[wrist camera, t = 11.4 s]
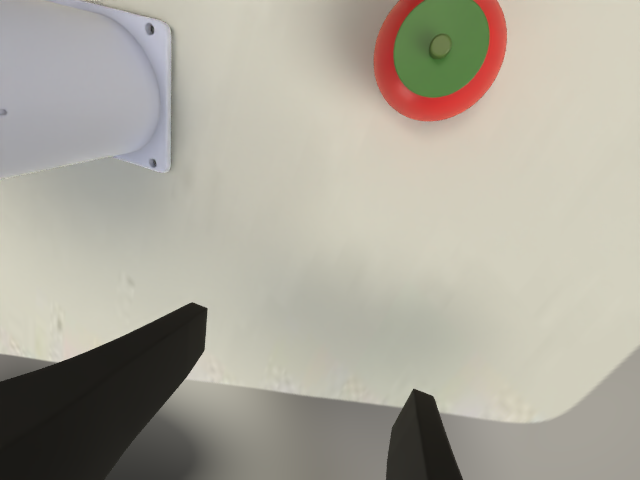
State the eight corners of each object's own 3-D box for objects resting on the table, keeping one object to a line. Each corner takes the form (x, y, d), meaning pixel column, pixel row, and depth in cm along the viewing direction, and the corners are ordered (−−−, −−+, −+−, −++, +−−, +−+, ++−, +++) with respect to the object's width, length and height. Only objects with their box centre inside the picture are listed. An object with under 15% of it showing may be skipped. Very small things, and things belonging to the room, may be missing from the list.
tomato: (368, 103, 16) (345, 108, 11) (399, -14, 13) (389, -73, 9) (463, 128, 15) (485, 145, 10) (512, 10, 13) (570, -41, 8)
